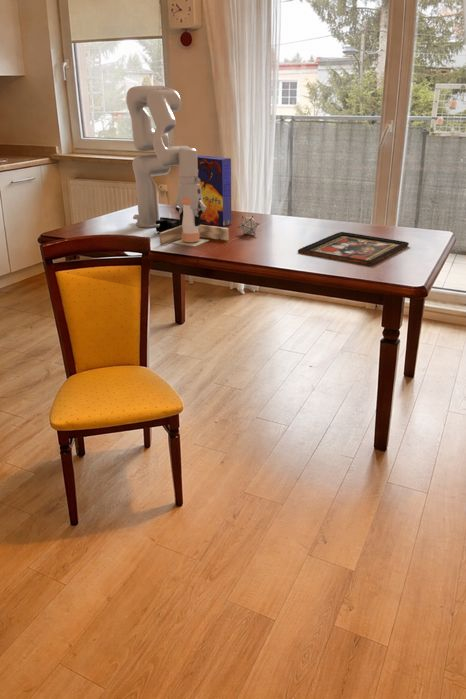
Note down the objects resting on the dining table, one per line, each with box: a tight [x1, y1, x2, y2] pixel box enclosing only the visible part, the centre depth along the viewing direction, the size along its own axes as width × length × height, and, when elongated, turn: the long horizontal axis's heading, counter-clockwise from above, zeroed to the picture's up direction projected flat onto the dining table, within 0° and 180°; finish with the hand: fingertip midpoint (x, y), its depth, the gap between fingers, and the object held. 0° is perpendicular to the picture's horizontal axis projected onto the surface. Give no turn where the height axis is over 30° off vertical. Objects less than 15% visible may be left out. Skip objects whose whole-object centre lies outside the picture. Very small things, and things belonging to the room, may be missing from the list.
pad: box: [172, 238, 210, 247], centre depth 248 cm, size 11×11×1 cm
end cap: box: [155, 216, 182, 236], centre depth 261 cm, size 10×7×7 cm
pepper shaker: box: [181, 198, 200, 242], centre depth 244 cm, size 7×7×19 cm
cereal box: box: [197, 154, 233, 227], centre depth 276 cm, size 22×6×30 cm, turn 48°
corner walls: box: [159, 224, 230, 246], centre depth 247 cm, size 21×21×5 cm
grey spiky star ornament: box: [237, 215, 260, 236], centre depth 258 cm, size 9×8×10 cm
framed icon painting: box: [297, 231, 410, 267], centre depth 235 cm, size 38×35×3 cm
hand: (190, 224), depth 245 cm, fingers closed on pepper shaker, 6 cm apart
